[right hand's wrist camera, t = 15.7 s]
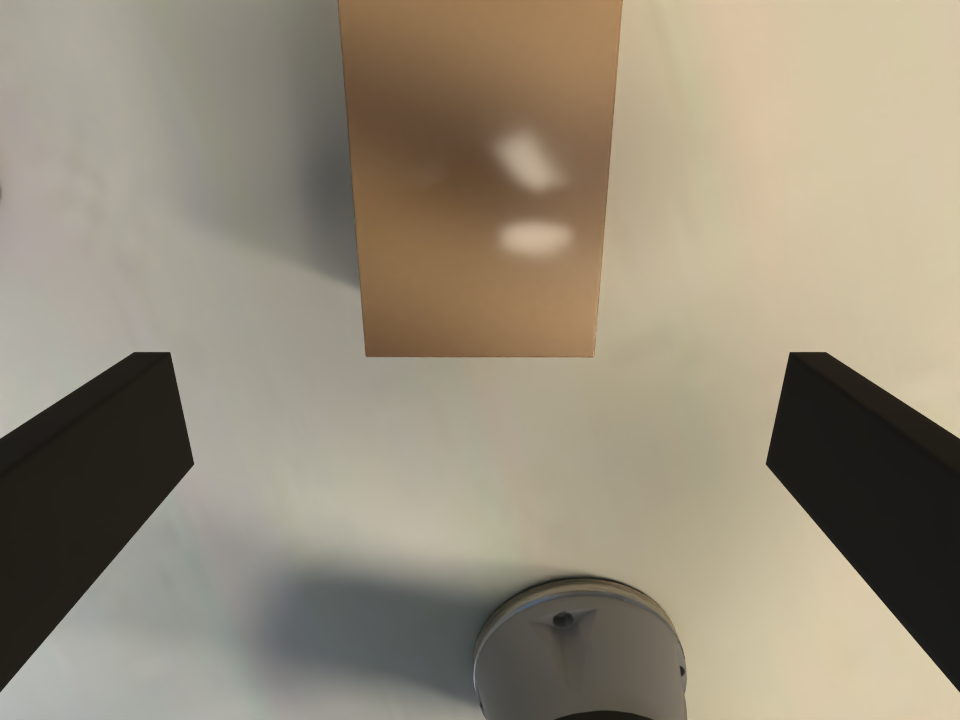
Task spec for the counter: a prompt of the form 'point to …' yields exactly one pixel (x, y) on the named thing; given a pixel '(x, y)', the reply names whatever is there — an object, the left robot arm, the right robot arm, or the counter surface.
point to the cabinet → (480, 171)
